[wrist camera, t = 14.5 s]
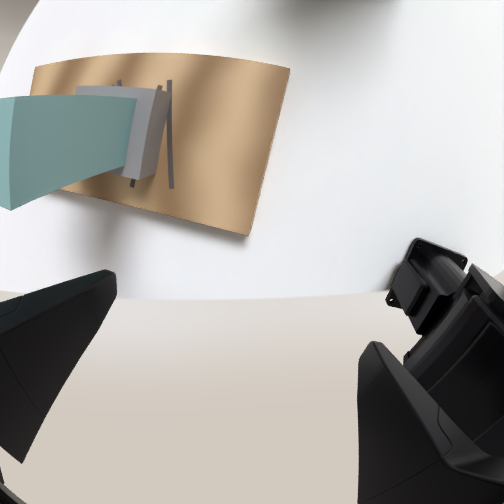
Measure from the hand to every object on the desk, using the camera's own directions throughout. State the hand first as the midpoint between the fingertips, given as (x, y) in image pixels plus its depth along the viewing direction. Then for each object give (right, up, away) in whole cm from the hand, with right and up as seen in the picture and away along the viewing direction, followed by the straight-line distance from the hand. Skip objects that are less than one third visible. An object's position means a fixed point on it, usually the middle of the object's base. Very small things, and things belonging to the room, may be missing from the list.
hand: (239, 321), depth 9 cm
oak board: (-10, +12, +10) cm, 19 cm away
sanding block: (-9, +11, +9) cm, 17 cm away
